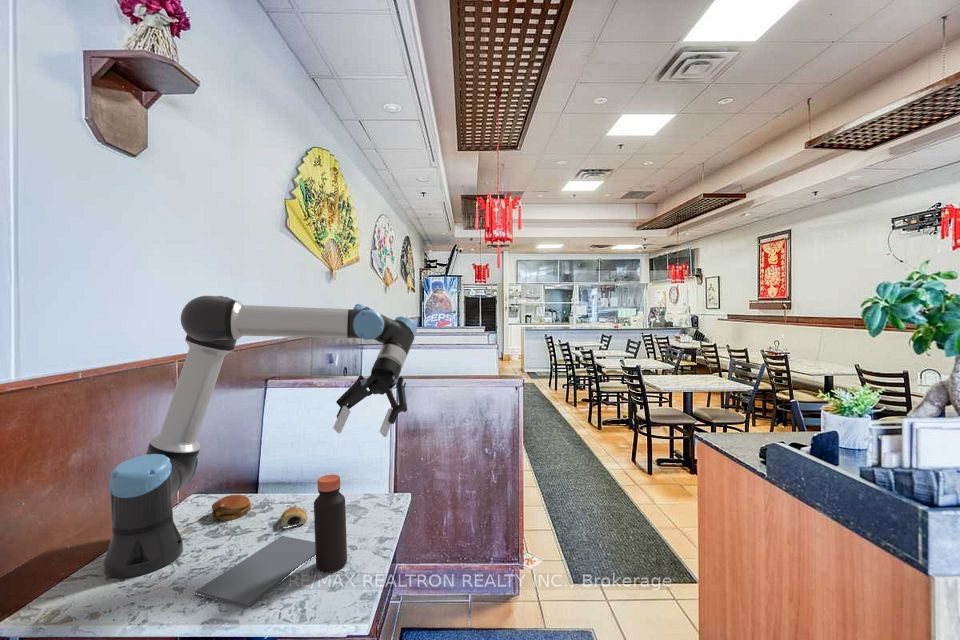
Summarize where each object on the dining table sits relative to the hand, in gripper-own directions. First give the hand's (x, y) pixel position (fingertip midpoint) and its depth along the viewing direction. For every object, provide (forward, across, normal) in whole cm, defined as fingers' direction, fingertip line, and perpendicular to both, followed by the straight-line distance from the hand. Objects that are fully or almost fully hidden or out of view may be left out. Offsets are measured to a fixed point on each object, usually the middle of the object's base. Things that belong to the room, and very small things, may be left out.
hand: (359, 432), depth 116 cm
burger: (+18, +46, -20) cm, 53 cm away
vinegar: (+28, +1, -11) cm, 30 cm away
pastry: (+18, +25, -22) cm, 37 cm away
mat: (+32, +14, -7) cm, 35 cm away
